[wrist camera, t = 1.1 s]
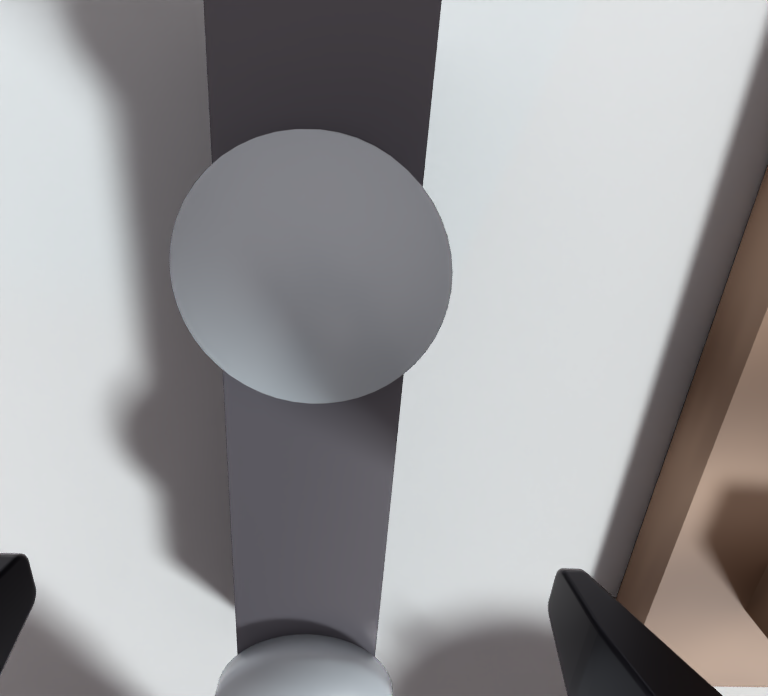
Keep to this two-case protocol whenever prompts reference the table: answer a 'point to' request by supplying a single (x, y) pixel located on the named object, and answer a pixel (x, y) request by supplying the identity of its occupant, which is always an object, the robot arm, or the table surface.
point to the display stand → (716, 493)
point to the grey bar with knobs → (313, 314)
